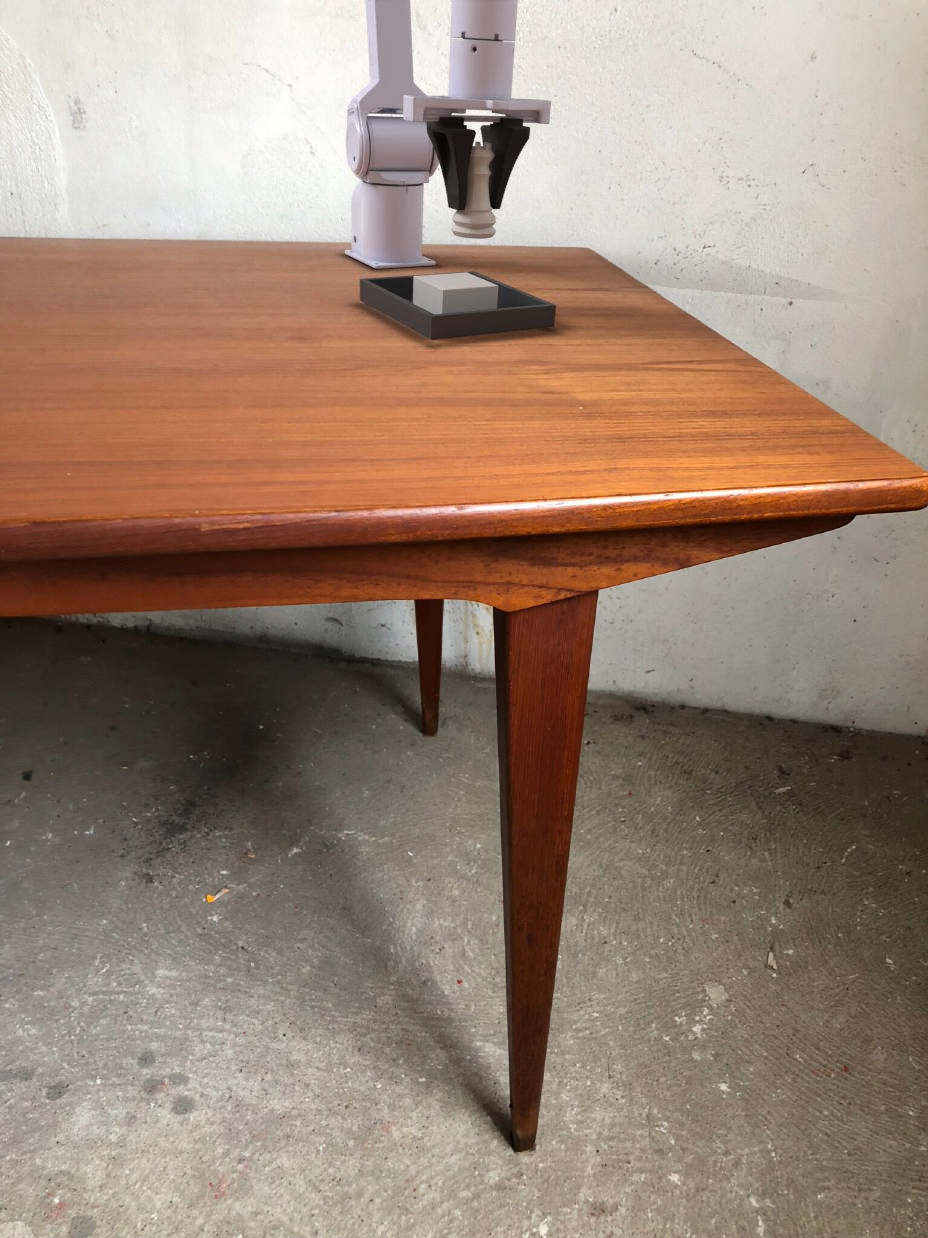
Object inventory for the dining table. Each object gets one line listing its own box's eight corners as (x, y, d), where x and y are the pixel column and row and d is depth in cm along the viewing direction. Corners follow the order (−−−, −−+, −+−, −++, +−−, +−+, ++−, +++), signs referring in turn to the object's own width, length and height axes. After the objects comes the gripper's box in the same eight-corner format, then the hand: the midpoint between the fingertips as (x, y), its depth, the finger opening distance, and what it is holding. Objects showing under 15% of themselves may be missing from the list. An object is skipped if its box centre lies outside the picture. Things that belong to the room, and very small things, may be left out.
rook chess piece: (492, 240, 86) (497, 146, 82) (446, 236, 87) (449, 142, 82) (499, 233, 90) (505, 142, 86) (455, 229, 90) (459, 139, 86)
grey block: (412, 307, 89) (413, 275, 88) (465, 303, 92) (467, 272, 90) (441, 322, 85) (443, 289, 83) (496, 317, 87) (498, 285, 86)
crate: (359, 305, 91) (359, 278, 90) (472, 296, 97) (474, 270, 96) (430, 346, 80) (431, 316, 79) (553, 332, 86) (556, 304, 85)
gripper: (431, 36, 74) (427, 217, 81) (576, 45, 80) (559, 212, 87) (393, 34, 79) (391, 205, 86) (531, 43, 85) (519, 201, 92)
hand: (474, 208), depth 87 cm, fingers closed on rook chess piece, 3 cm apart
